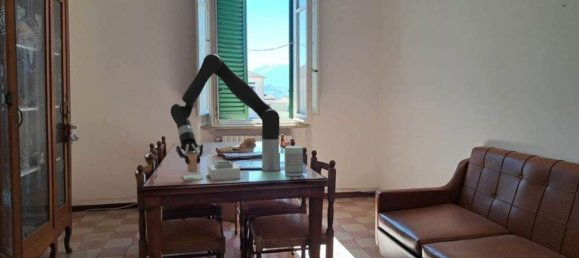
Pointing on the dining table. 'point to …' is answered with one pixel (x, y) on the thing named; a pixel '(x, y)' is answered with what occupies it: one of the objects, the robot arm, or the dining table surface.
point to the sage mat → (192, 177)
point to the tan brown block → (192, 161)
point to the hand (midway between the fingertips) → (193, 162)
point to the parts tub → (224, 170)
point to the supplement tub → (293, 161)
